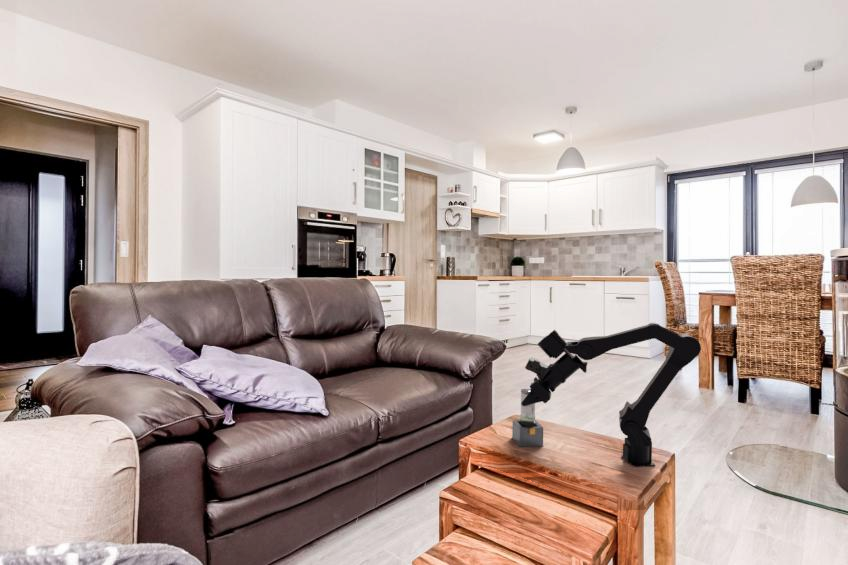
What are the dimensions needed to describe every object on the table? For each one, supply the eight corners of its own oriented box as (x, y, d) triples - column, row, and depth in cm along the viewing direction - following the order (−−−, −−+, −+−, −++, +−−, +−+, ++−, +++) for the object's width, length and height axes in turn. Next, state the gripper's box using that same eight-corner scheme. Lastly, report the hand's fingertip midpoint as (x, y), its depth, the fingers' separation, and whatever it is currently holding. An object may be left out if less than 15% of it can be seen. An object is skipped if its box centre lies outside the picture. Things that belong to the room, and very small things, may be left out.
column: (532, 426, 136) (532, 388, 136) (537, 432, 132) (537, 392, 131) (518, 427, 136) (518, 388, 135) (522, 432, 131) (523, 392, 131)
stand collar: (535, 439, 138) (535, 419, 138) (544, 450, 130) (544, 428, 130) (511, 440, 137) (511, 419, 137) (519, 451, 129) (520, 429, 129)
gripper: (545, 344, 140) (510, 375, 145) (538, 354, 123) (498, 389, 127) (570, 371, 138) (534, 402, 142) (567, 385, 120) (525, 420, 125)
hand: (523, 402), depth 134 cm, fingers open, 4 cm apart
